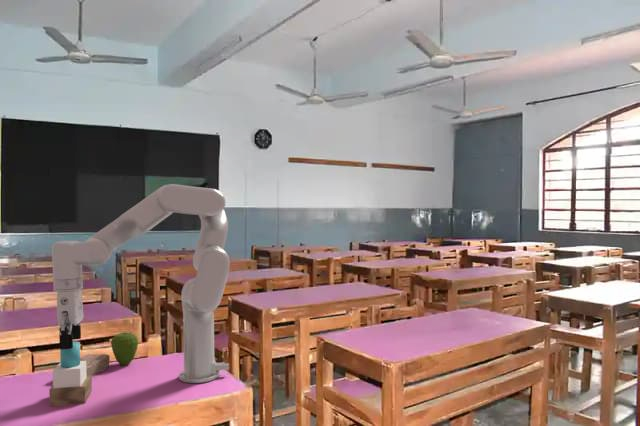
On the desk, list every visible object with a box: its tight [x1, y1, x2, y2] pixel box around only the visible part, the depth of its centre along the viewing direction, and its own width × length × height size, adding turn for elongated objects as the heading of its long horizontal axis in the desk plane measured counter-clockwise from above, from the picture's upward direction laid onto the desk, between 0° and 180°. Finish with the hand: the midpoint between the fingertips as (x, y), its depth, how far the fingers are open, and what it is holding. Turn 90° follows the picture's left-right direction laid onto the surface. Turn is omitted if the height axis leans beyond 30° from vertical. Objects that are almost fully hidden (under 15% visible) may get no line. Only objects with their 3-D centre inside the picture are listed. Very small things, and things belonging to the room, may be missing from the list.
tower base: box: [48, 376, 93, 407], centre depth 144 cm, size 9×9×5 cm
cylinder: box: [59, 341, 81, 368], centre depth 144 cm, size 5×5×6 cm
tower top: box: [52, 361, 87, 388], centre depth 144 cm, size 7×7×5 cm
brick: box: [80, 353, 111, 377], centre depth 165 cm, size 17×8×5 cm, turn 169°
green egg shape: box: [110, 331, 139, 366], centre depth 174 cm, size 9×8×12 cm
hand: (70, 343), depth 144 cm, fingers open, 9 cm apart
